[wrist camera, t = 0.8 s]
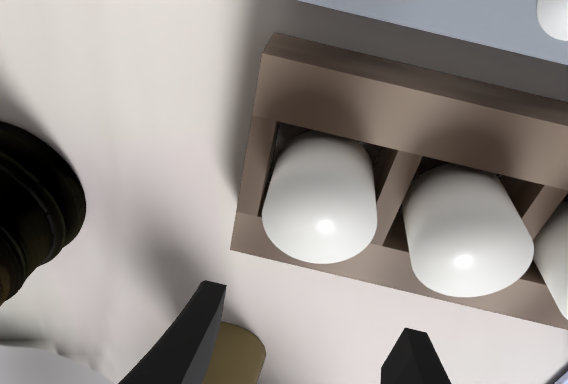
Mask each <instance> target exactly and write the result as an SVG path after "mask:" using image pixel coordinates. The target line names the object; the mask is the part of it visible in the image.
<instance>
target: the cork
mask: <svg viewBox="0 0 568 384" xmlns="http://www.w3.org/2000/svg"><path fill="white" fill-rule="evenodd" d="M265 357H266V351H265V347H264V345H263V344H262V342H261V341H260V340H259V338H258V337H256V336H255V335H254V334H252V333H251V332H250V331H248V330H246V329H244V328H241V327H239V326H237V325H233V324H228V323H223V322H220V328H219V332H218V336H217V339H216V343H215V346H214V350H213V353H212V357H211V360H210V363H209V366H208V369H207V371H206V374H205V377H204V379H203V382H202V384H257V381H258V378H259V375H260V372H261V369H262V366H263V363H264V360H265Z"/></svg>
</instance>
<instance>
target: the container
mask: <svg viewBox="0 0 568 384" xmlns="http://www.w3.org/2000/svg"><path fill="white" fill-rule="evenodd" d="M85 214H86V201H85V197H84V192H83V189H82V187H81V185H80V183H79V181H78V179H77V177H76V175H75V174H74V172H73V171H72V169H71V168H70V166H69V165H68V164H67V163H66V162H65V160H64V159H63V158H62V157H61V156H60V155H59V154H58V153H57V152H56V151H54V150H53V149H52V148H51V147H50V146H49V145H47V144H46V143H45V142H43V141H42V140H40V139H39V138H37V137H36V136H34V135H33V134H31V133H29V132H27V131H25V130H23V129H21V128H19V127H16V126H14V125H11V124H8V123H5V122H1V121H0V306H1V305H2V304H3V303H4V302H5V301H6V300H8V299H10V298H11V297H12V296H13V295H15V294H16V293H17V292H18V290H19V289H20V288H21V287H22V285H23V283H24V282H25V280H26V279H27V277H28V276H29V275H30V274H31V273H32V272H33V271H34V270H35V269H36V268H37V267H39V266H40V265H43V264H45V263H47V262H49V261H51V260H52V259H53V258H54V257H56V256H57V255H58V254H59V252H60V251H61V249H62V248H63V247H65V246H66V245H67V244H69V243H70V242H71V241H72V240H73V239H74V238H75V237H76V236H77V235H78V233H79V231H80V229H81V227H82V225H83V222H84V219H85Z"/></svg>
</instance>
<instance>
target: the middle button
mask: <svg viewBox="0 0 568 384" xmlns="http://www.w3.org/2000/svg"><path fill="white" fill-rule="evenodd" d="M402 212H403V218H404V224H405V230H406V236H407V241H408V247H409V253H410V259H411V265H412V269H413V272H414V273H415V275H416V277H417V278H418V279H419V281H420V282H422V283H423V284H424V285H425V286H426V287H428V288H430V289H431V290H433V291H435V292H438V293H441V294H444V295H448V296H453V297H477V296H483V295H487V294H491V293H494V292H497V291H500V290H502V289H504V288H506V287H508V286H510V285H511V284H513V283H514V282H515V281H517V280H518V279H519V278H520V277H521V276H522V275H523V274H524V273H525V272H526V271H527V269H528V268H529V266H530V264H531V262H532V259H533V255H534V244H533V241H532V238H531V236H530V234H529V232H528V230H527V229H526V227H525V225H524V223H523V221H522V219H521V218H520V216H519V214H518V212H517V210H516V208H515V207H514V205H513V203H512V201H511V199H510V197H509V196H508V194H507V192H506V190H505V188H504V186H503V185H502V183H501V181H500V180H499V178H498V177H497V176H496V175H495V174H494V173H492V172H488V171H484V170H480V169H476V168H471V167H467V166H463V165H459V164H455V163H448V164H444V165H440V166H437V167H434V168H432V169H430V170H428V171H426V172H424V173H423V174H421V175H420V176H419V177H417V178H416V179H415V180H414V181H413V182H412V183H411V185H410V186H409V188H408V190H407V192H406V194H405V197H404V199H403V202H402Z"/></svg>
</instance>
